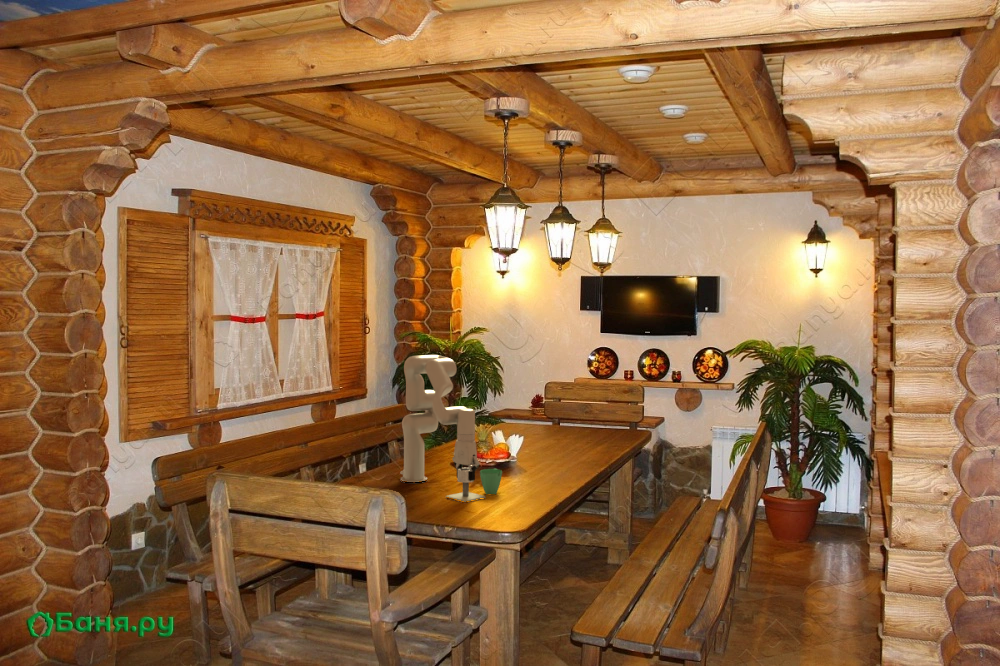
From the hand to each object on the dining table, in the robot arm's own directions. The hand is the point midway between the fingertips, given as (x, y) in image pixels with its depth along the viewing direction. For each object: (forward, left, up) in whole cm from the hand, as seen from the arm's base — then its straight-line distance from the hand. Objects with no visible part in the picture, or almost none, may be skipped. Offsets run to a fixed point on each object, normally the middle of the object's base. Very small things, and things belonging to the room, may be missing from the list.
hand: (465, 478), depth 353 cm
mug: (0, +16, -9) cm, 18 cm away
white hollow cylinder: (0, 0, -1) cm, 1 cm away
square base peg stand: (0, 0, -9) cm, 9 cm away
